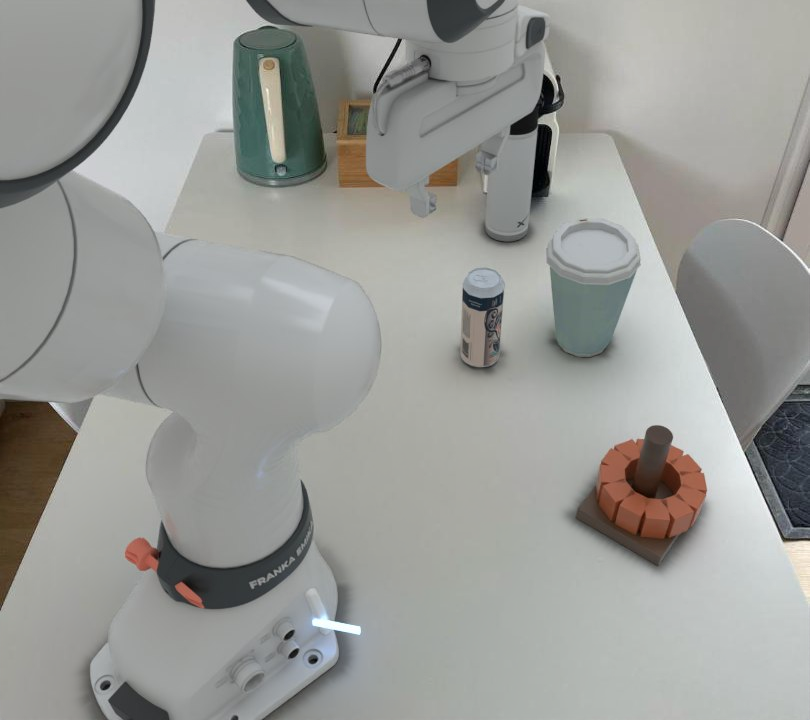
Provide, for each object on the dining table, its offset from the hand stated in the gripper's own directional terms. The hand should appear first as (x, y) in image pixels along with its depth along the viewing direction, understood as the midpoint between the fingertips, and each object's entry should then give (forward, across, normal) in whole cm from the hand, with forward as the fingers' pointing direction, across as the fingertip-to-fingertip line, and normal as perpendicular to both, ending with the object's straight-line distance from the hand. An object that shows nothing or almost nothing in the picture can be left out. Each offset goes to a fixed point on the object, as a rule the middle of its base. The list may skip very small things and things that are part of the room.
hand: (456, 191), depth 74 cm
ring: (+26, +1, -24) cm, 36 cm away
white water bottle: (+28, +34, +16) cm, 47 cm away
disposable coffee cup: (+28, +19, -5) cm, 34 cm away
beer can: (+28, +9, +2) cm, 30 cm away
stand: (+28, 0, -24) cm, 37 cm away
